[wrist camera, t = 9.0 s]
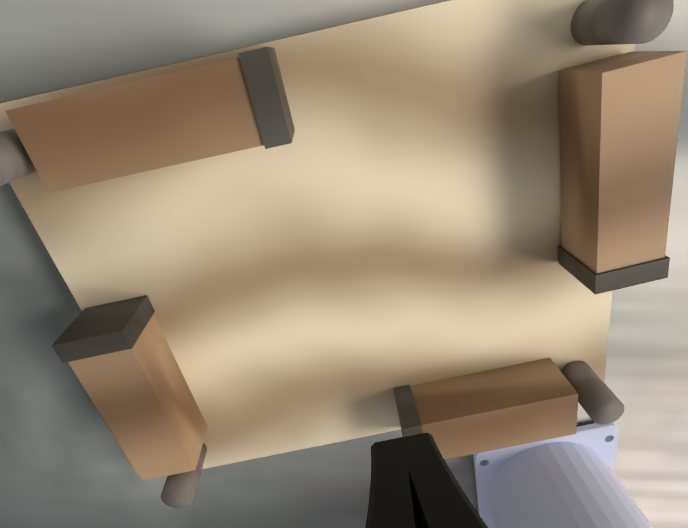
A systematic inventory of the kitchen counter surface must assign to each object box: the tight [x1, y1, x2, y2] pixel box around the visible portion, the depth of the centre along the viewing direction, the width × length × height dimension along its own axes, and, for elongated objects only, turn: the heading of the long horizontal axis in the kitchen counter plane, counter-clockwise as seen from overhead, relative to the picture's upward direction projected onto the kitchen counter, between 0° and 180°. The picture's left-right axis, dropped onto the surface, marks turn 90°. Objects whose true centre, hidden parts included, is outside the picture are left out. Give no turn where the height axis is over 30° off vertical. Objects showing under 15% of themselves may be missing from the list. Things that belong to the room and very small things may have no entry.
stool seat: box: [0, 0, 673, 508], centre depth 17 cm, size 18×22×4 cm
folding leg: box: [558, 51, 687, 295], centre depth 15 cm, size 8×3×3 cm, turn 14°
